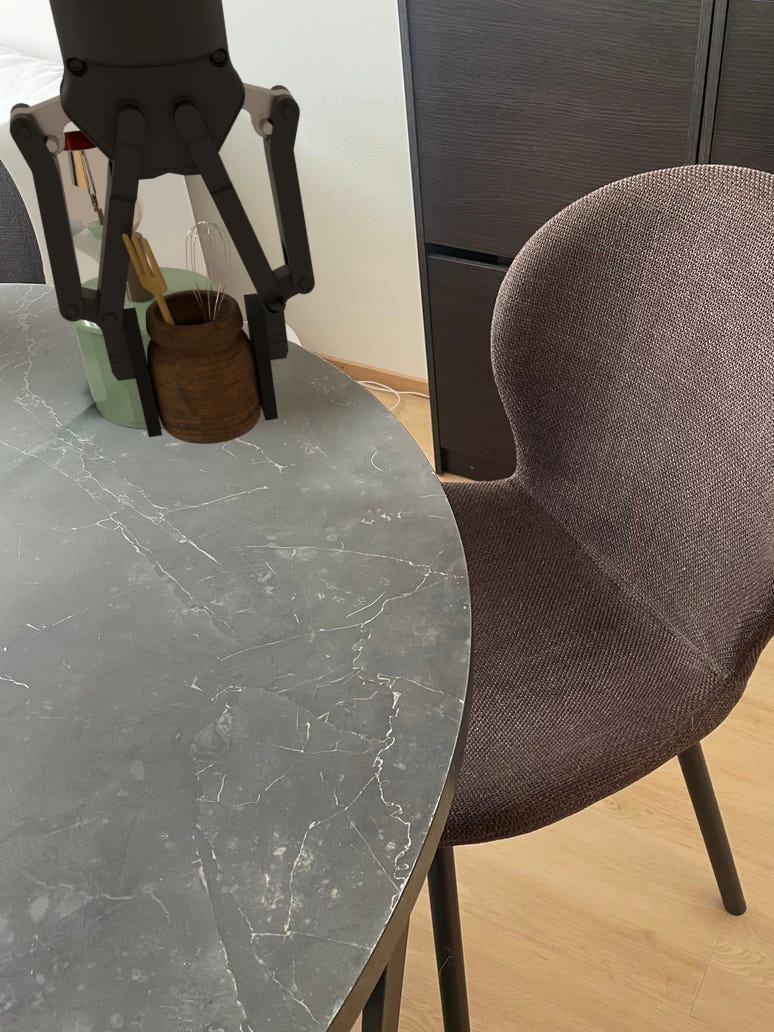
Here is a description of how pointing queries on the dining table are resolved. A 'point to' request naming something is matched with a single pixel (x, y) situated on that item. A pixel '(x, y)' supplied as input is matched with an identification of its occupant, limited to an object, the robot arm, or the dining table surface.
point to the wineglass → (87, 192)
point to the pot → (110, 382)
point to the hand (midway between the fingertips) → (211, 415)
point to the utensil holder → (198, 355)
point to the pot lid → (143, 297)
